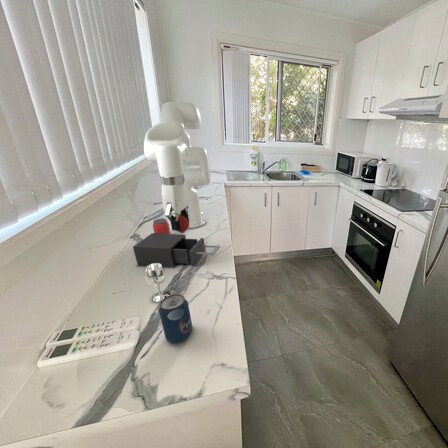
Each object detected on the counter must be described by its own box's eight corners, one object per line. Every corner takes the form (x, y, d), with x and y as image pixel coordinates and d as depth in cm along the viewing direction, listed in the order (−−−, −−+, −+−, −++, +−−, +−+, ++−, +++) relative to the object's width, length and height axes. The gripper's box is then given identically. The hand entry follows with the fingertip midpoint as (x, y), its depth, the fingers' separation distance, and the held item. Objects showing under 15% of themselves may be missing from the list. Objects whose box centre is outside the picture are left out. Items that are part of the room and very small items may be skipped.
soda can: (190, 343, 66) (183, 309, 61) (162, 347, 64) (153, 312, 60) (195, 324, 72) (189, 291, 67) (169, 327, 70) (162, 294, 66)
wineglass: (157, 305, 78) (149, 274, 74) (147, 298, 81) (139, 268, 77) (173, 295, 83) (167, 265, 78) (163, 289, 86) (157, 260, 81)
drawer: (222, 252, 109) (221, 238, 106) (213, 266, 98) (211, 251, 96) (175, 250, 109) (173, 236, 107) (161, 264, 99) (158, 249, 96)
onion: (173, 231, 95) (170, 212, 92) (189, 228, 98) (186, 210, 95) (174, 237, 91) (170, 217, 87) (190, 234, 93) (187, 215, 90)
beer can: (166, 247, 113) (161, 224, 108) (153, 246, 114) (148, 222, 109) (175, 241, 119) (171, 218, 114) (163, 240, 120) (158, 217, 115)
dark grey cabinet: (188, 252, 110) (185, 234, 107) (173, 267, 98) (169, 248, 95) (156, 250, 110) (152, 233, 107) (137, 265, 99) (132, 246, 95)
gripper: (174, 174, 94) (182, 217, 101) (147, 185, 78) (158, 236, 85) (194, 175, 94) (199, 218, 101) (170, 187, 78) (179, 237, 85)
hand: (181, 226), depth 93 cm, fingers closed on onion, 5 cm apart
